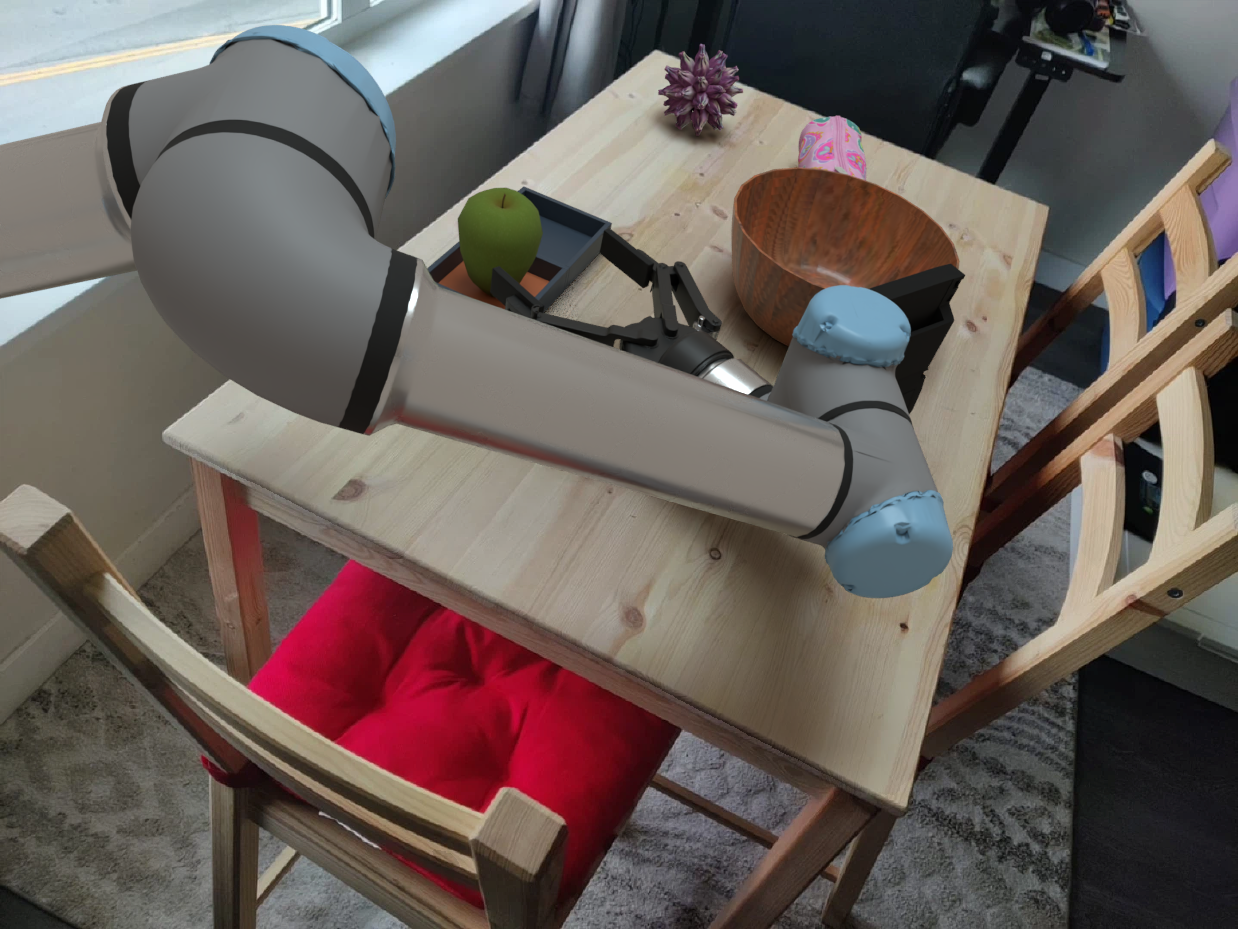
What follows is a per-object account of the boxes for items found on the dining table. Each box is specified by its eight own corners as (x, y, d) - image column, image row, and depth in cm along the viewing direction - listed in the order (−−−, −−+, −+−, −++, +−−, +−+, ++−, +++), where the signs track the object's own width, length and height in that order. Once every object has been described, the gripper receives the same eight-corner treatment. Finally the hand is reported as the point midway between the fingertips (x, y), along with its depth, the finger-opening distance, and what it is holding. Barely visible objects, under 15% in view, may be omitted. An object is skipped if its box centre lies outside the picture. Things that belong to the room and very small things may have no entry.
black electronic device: (861, 419, 94) (946, 258, 80) (892, 449, 92) (985, 289, 78) (777, 455, 88) (853, 288, 74) (808, 487, 86) (892, 321, 72)
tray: (514, 344, 92) (517, 322, 90) (415, 300, 94) (416, 277, 92) (607, 243, 108) (612, 222, 106) (521, 207, 110) (523, 185, 108)
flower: (659, 114, 137) (739, 115, 136) (655, 149, 128) (741, 150, 127) (660, 33, 129) (745, 33, 128) (656, 64, 120) (747, 65, 119)
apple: (469, 257, 100) (476, 161, 92) (542, 278, 100) (557, 184, 92) (441, 301, 94) (447, 203, 86) (520, 324, 94) (532, 227, 86)
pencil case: (860, 260, 116) (888, 197, 109) (791, 244, 115) (815, 180, 109) (850, 177, 131) (874, 117, 124) (788, 162, 130) (810, 102, 124)
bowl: (883, 263, 116) (921, 183, 108) (942, 398, 99) (992, 315, 91) (694, 239, 112) (718, 153, 104) (721, 376, 95) (753, 286, 87)
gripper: (592, 478, 74) (440, 330, 83) (785, 373, 88) (637, 256, 97) (609, 412, 68) (444, 262, 77) (811, 311, 82) (652, 194, 91)
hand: (551, 258), depth 87 cm, fingers open, 13 cm apart
